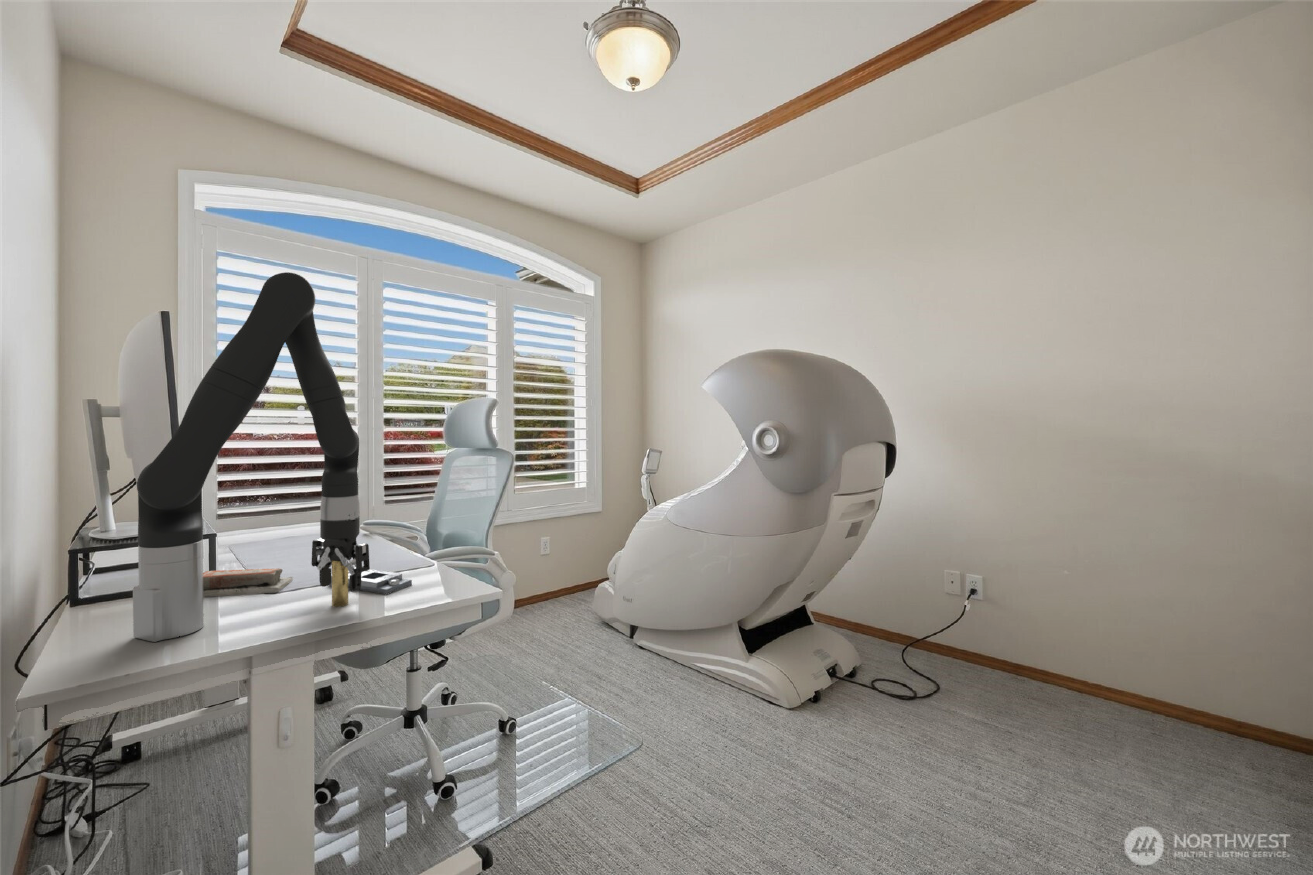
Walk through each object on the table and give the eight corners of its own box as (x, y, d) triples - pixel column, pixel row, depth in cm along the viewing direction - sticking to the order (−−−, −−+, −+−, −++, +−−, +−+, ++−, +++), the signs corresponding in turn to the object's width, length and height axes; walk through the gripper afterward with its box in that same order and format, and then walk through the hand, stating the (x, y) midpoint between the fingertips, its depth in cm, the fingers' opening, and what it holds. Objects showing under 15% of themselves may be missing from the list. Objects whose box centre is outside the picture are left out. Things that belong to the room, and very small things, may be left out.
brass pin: (339, 607, 119) (339, 562, 119) (328, 605, 120) (328, 560, 120) (351, 602, 122) (351, 558, 122) (341, 601, 123) (341, 557, 123)
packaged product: (186, 578, 123) (208, 566, 133) (186, 600, 123) (208, 586, 133) (278, 573, 128) (293, 562, 138) (278, 594, 128) (293, 581, 138)
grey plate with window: (386, 594, 128) (386, 583, 128) (328, 585, 134) (328, 574, 134) (411, 584, 136) (411, 574, 136) (356, 576, 142) (356, 566, 142)
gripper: (300, 516, 119) (300, 589, 120) (350, 521, 115) (350, 597, 115) (331, 510, 126) (331, 579, 127) (379, 515, 122) (378, 587, 122)
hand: (340, 588), depth 121 cm, fingers open, 8 cm apart
